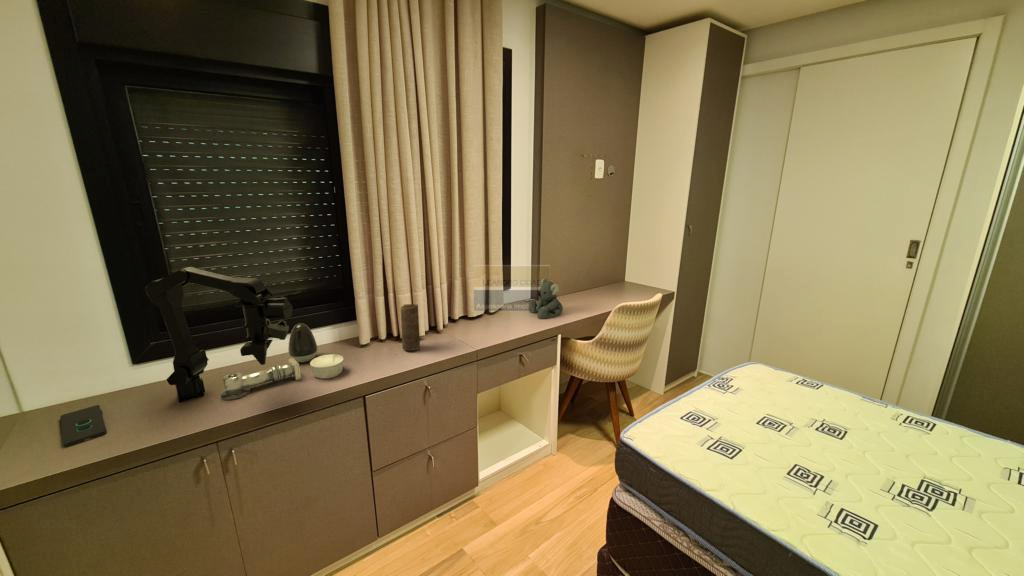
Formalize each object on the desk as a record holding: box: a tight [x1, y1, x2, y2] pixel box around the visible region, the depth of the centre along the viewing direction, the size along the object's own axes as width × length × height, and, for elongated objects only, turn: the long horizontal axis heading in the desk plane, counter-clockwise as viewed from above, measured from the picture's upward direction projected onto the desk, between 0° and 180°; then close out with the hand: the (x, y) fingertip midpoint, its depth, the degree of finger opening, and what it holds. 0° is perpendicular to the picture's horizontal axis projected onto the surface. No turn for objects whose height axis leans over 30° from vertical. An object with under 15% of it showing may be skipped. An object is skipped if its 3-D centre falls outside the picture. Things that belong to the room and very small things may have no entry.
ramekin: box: [309, 353, 345, 380], centre depth 144 cm, size 11×11×5 cm
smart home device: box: [60, 404, 108, 448], centre depth 111 cm, size 8×2×20 cm
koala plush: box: [528, 277, 564, 320], centre depth 216 cm, size 17×18×20 cm
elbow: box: [222, 365, 280, 395], centre depth 132 cm, size 15×5×6 cm, turn 135°
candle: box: [400, 303, 421, 351], centre depth 165 cm, size 8×7×20 cm
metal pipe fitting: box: [220, 357, 302, 401], centre depth 134 cm, size 23×8×6 cm, turn 134°
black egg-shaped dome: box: [287, 323, 318, 363], centre depth 153 cm, size 10×10×15 cm
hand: (263, 364), depth 127 cm, fingers closed
